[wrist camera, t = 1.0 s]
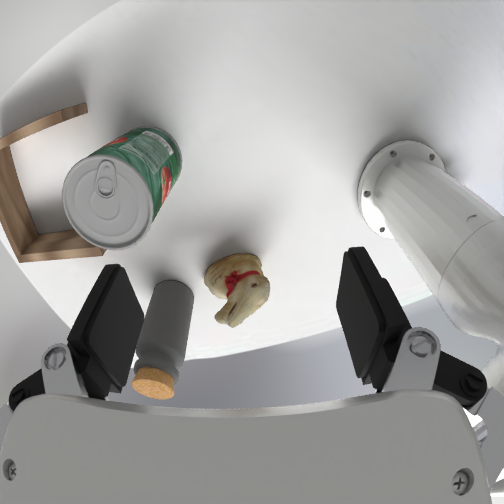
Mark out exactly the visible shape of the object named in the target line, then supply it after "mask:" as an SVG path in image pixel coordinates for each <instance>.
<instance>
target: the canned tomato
mask: <svg viewBox="0 0 504 504" xmlns="http://www.w3.org/2000/svg"><path fill="white" fill-rule="evenodd" d="M181 168H182V157H181V152H180V149H179V147H178V145H177V143H176V142H175V140H174V139H173V138H172V137H171V136H170V135H169V134H167V133H166V132H165V131H163V130H160V129H158V128H154V127H139V128H136V129H133V130H131V131H129V132H128V133H126V134H124V135H122V136H121V137H119V138H117V139H115V140H114V141H112V142H110V143H108V144H107V145H105V146H103V147H102V148H100V149H99V150H97V151H95V152H94V153H92V154H90V155H89V156H88V157H86V158H84V159H82V160H80V161H79V162H78V163H76V164H75V165H74V166H73V167H72V168H71V170H70V171H69V173H68V174H67V176H66V179H65V181H64V185H63V190H62V201H63V207H64V210H65V213H66V216H67V218H68V220H69V222H70V224H71V225H72V227H73V228H74V229H75V231H76V232H77V233H78V234H79V235H80V236H81V237H82V238H84V239H85V240H86V241H88V242H89V243H91V244H93V245H95V246H97V247H100V248H103V249H108V250H123V249H126V248H130V247H132V246H134V245H136V244H137V243H138V242H139V241H141V240H142V239H143V238H144V236H145V235H146V234H147V232H148V231H149V228H150V226H151V224H152V222H153V221H154V218H155V217H156V215H157V213H158V212H159V210H160V208H161V206H162V204H163V203H164V201H165V199H166V197H167V196H168V194H169V192H170V190H171V189H172V187H173V185H174V184H175V182H176V181H177V179H178V177H179V175H180V172H181Z"/></svg>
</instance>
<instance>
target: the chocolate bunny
mask: <svg viewBox="0 0 504 504" xmlns="http://www.w3.org/2000/svg"><path fill="white" fill-rule="evenodd" d="M261 266H262V265H261V263H260V260H259V259H258V258H257V256H254V255H252V254H246V255H242V254H234V255H231V256H227V257H226V258H225V257H224V258H223V259H221V260H219V261H216V262H215V263H213V264H212V265H211V266H210V267H209V269H208V271H207V273H206V275H205V277H204V283H205V285H206V286H207V287H208V288H209V290H210V291H211V293H212V294H213V295H215V296H216V297H218V298H220V299H228V301H227V303H226V304H225V305H224V306H223V308H222V309H221V310H220V311H219V312H217V313H216V315H215V319H216V321H217V322H219V323H221V324H227V325H228V326H230V327H232V328H234V327H236V326H237V325H239V324H241V323H242V322H243V321H244V319H246V318H247V317H248V316H249V315H251V314H253V313H254V312H255V311H256V310H257V309H258V308H260V307H261V306H262V305H263V304H264V303H265V302H266V301H267V300H268V297H269V293H270V283H269V281H268V279H267V278H266V277H264V275H263V272H262V270H261ZM255 313H256V312H255Z"/></svg>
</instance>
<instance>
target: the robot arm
mask: <svg viewBox="0 0 504 504" xmlns="http://www.w3.org/2000/svg"><path fill="white" fill-rule="evenodd" d="M390 152H391V153H390ZM365 191H366V192H365ZM358 205H359V209H360V212H361V214H362V217H363V219H364V220H365V222H366V223H367V225H368V226H369V227H370V228H371V229H372V230H373V231H374V232H375V233H377V234H378V235H380V236H383V237H386V238H391V239H395V240H396V241H397V243H398V244H399V245H400V247H401V248H402V249H403V251H404V252H405V254H406V255H407V256H408V258H409V259H410V261H411V262H412V264H413V265H414V266H415V268H416V269H417V271H418V272H419V274H420V275H421V277H422V278H423V280H424V281H425V283H426V284H427V286H428V287H429V289H430V290H431V292H432V293H433V295H434V297H435V298H436V300H437V301H438V303H439V304H440V306H441V308H442V310H443V311H444V312H445V314H446V316H447V317H448V319H449V320H450V322H451V323H452V324H453V325H454V326H455V327H456V328H457V329H458V330H460V331H461V332H463V333H465V334H467V335H471V336H475V337H480V338H486V339H490V340H492V341H494V342H495V343H496V344H497V346H498V349H497V352H496V353H495V355H494V356H493V357H492V359H491V360H490V361H489V362H488V363H487V365H486V366H485V367H484V368H483V369H482V370H481V371H480V370H479V369H477V368H475V367H473V366H471V365H469V364H467V363H465V362H463V361H461V360H459V359H457V358H455V357H453V356H451V355H449V354H447V353H445V352H443V351H441V349H440V348H441V345H440V342H439V339H438V337H437V336H436V335H435V334H434V333H433V332H432V331H430V330H428V329H426V328H422V327H415V328H412V327H411V325H410V323H409V321H408V319H407V317H406V315H405V313H404V311H403V309H402V307H401V305H400V303H399V301H398V299H397V298H396V296H395V294H394V292H393V290H392V288H391V286H390V285H389V283H388V281H387V280H386V279H385V278H382V277H381V275H380V274H379V272H378V270H377V268H376V266H375V265H374V263H373V261H372V259H371V258H370V256H369V254H368V252H367V251H366V249H365V248H364V247H351V248H349V250H348V252H344V257H343V264H342V270H341V277H340V283H339V289H338V295H337V301H336V308H337V312H338V315H339V318H340V321H341V325H342V328H343V331H344V334H345V338H346V340H347V344H348V348H349V351H350V354H351V358H352V362H353V365H354V368H355V372H356V375H357V377H358V378H362V382H363V385H365V384H370V383H372V385H373V388H375V389H376V391H375V393H374V394H369V395H364V396H358V397H353V398H346V399H340V400H333V401H326V402H319V403H311V404H302V405H292V406H281V407H267V408H249V409H248V408H247V409H191V408H170V407H157V406H146V405H137V404H128V403H120V402H114V401H110V400H109V398H108V393H109V392H115V393H121V391H122V387H123V386H125V385H126V383H127V378H128V374H129V371H130V367H131V364H132V360H133V357H134V353H135V349H136V346H137V343H138V339H139V336H140V333H141V329H142V326H143V323H144V313H143V311H142V308H141V306H140V304H139V302H138V299H137V297H136V295H135V293H134V290H133V288H132V285H131V283H130V281H129V278H128V276H127V273H126V271H125V269H124V268H123V267H121V266H120V265H119V264H109V265H105V267H104V268H103V270H102V272H101V274H100V275H99V277H98V279H97V281H96V282H95V284H94V286H93V288H92V290H91V292H90V293H89V295H88V297H87V299H86V301H85V303H84V305H83V307H82V309H81V311H80V313H79V315H78V317H77V319H76V321H75V323H74V325H73V327H72V329H71V331H70V333H69V336H68V338H67V340H68V344H67V346H66V345H65V344H62V343H60V344H55V345H52V346H51V347H49V348H48V349H47V350H46V351H45V353H44V354H43V356H42V359H41V369H40V370H38V371H37V372H35V373H34V374H33V375H31V376H29V377H28V378H27V379H25V380H23V381H22V382H20V383H19V384H17V385H16V386H15V387H14V388H13V389H12V391H11V393H10V396H9V404H8V403H7V402H6V403H5V404H4V405H3V406H2V407H1V408H0V504H492V501H491V496H504V216H502V215H501V214H500V213H499V212H498V211H496V210H495V209H494V208H493V207H492V206H490V205H489V204H488V203H487V202H485V201H484V200H483V199H482V198H480V197H479V196H478V195H476V194H475V193H474V192H472V191H471V190H470V189H468V188H467V187H466V186H464V185H463V184H461V183H460V182H459V181H457V180H456V179H454V178H453V177H451V176H450V175H448V174H447V173H446V171H445V167H444V165H443V163H442V160H441V159H440V157H439V156H438V155H437V153H436V152H434V151H433V150H432V149H431V148H430V147H428V146H426V145H424V144H422V143H419V142H416V141H410V140H404V141H397V142H395V143H392V144H389V145H388V146H386V147H384V148H383V149H381V150H380V151H379V152H378V153H377V154H375V155H374V156H373V158H372V159H371V160H370V161H369V163H368V164H367V166H366V168H365V170H364V171H363V173H362V176H361V179H360V182H359V188H358Z"/></svg>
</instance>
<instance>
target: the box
mask: <svg viewBox="0 0 504 504" xmlns="http://www.w3.org/2000/svg"><path fill="white" fill-rule="evenodd" d="M85 113H87V108H86V103H83V104H79V105H76V106H73V107H69V108H66V109H63V110H60V111H57V112H55V113H52V114H50V115H48V116H45V117H43V118H41V119H39V120H36V121H34V122H32V123H30V124H28V125H26V126H24V127H22V128H20V129H18V130H16V131H14V132H12V133H10V134H8V135H6V136H4V137H3V138H1V139H0V222H1V224H2V226H3V229H4V231H5V234H6V236H7V238H8V240H9V243H10V245H11V247H12V249H13V251H14V253H15V255H16V257H17V259H18V261H19V263H23V262H35V261H46V260H58V259H70V258H83V257H95V256H103V255H104V253H105V251H106V250H107V249H103V248H100V247H97V246H95V245H93V244H91V243H89V242H88V241H86V240H85V239H84V238H82V237H81V236H80V235H79V234H78V233H77V232H76V231H75V229H74V230H67V231H61V232H54V233H48V234H41V235H38V233H37V230H36V228H35V225H34V223H33V220H32V218H31V215H30V213H29V210H28V207H27V204H26V202H25V199H24V196H23V193H22V190H21V187H20V183H19V180H18V177H17V174H16V170H15V167H14V163H13V159H12V155H11V151H10V147H9V145H10V144H12V143H14V142H16V141H18V140H21V139H23V138H25V137H27V136H29V135H31V134H34V133H36V132H38V131H41V130H43V129H46V128H48V127H50V126H53V125H56V124H58V123H61V122H63V121H66V120H69V119H71V118H74V117H77V116H80V115H83V114H85Z"/></svg>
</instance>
